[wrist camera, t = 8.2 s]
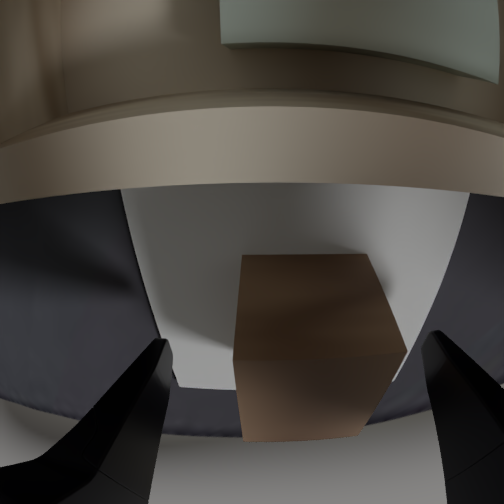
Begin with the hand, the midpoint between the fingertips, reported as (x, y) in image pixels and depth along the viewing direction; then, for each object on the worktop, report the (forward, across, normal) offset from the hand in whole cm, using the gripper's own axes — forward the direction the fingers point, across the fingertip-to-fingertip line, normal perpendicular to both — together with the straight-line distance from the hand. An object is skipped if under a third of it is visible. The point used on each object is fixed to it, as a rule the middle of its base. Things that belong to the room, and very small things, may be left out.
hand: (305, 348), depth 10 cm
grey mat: (+2, 0, 0) cm, 2 cm away
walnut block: (+2, 0, 0) cm, 2 cm away
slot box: (+2, -1, -12) cm, 12 cm away
